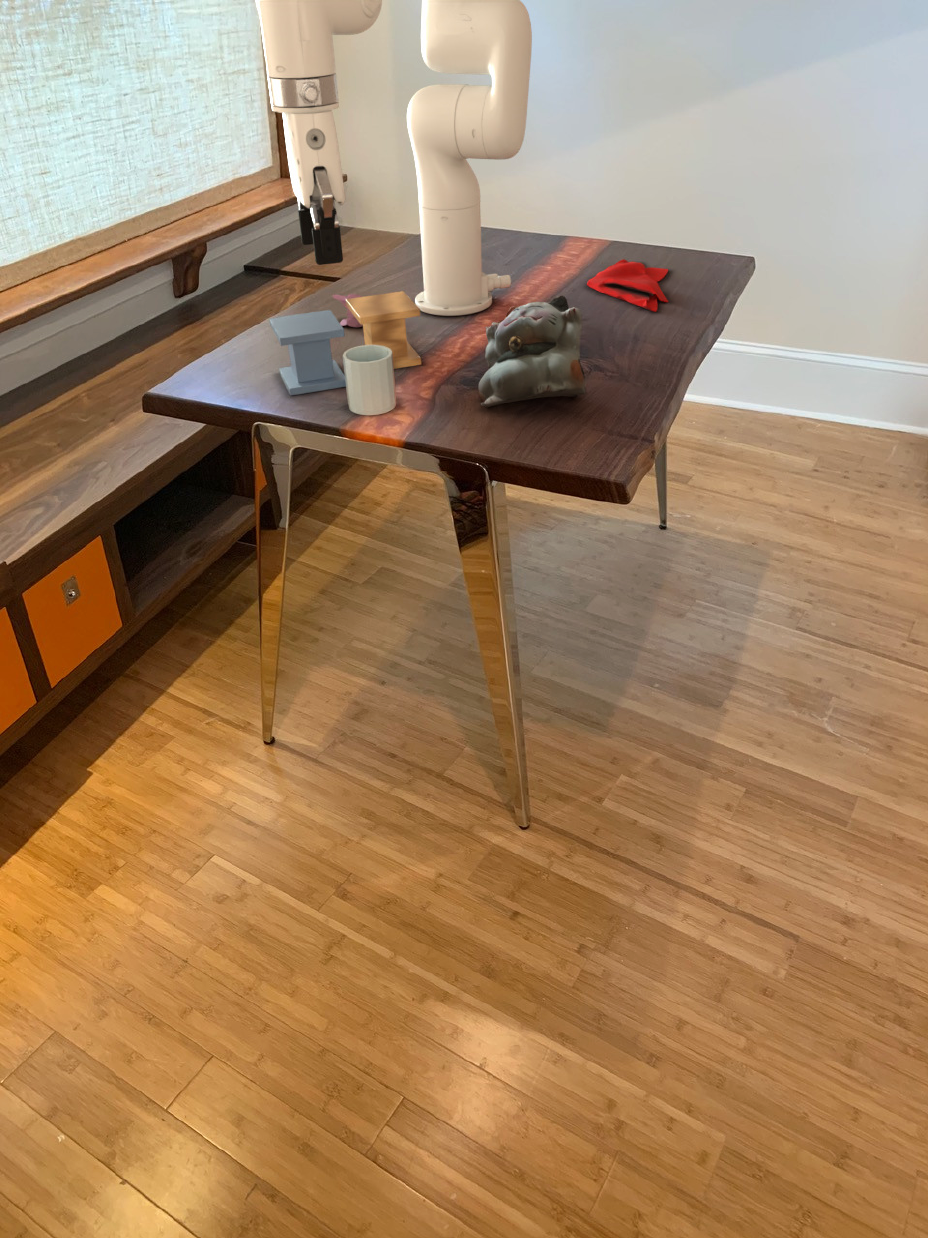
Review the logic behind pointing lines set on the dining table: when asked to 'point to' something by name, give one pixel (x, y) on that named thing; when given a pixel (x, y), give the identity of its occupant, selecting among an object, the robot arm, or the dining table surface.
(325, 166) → the robot arm
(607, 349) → the dining table surface
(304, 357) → the blue stand
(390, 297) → the maple stand
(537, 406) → the dining table surface
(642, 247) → the dining table surface
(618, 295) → the cloth
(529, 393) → the lucky cat figurine
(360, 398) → the container
